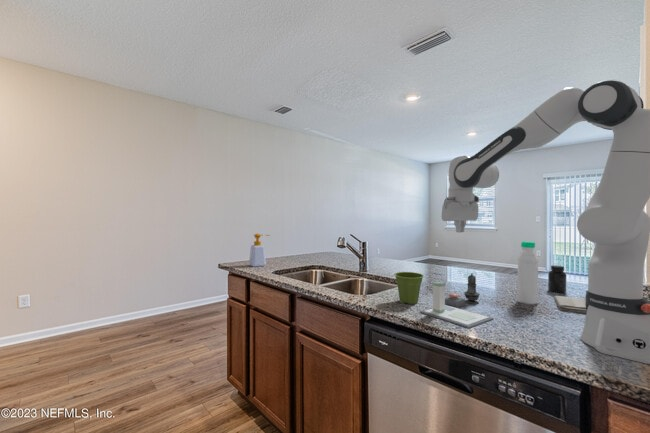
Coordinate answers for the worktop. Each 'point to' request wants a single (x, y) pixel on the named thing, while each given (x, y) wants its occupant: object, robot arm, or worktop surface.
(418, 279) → the plant pot
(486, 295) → the worktop surface
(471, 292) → the dark tiered figurine
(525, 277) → the water bottle
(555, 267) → the supplement bottle
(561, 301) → the washcloth
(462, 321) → the white rectangular board
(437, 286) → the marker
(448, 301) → the button housing
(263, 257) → the soap bottle
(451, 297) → the button
